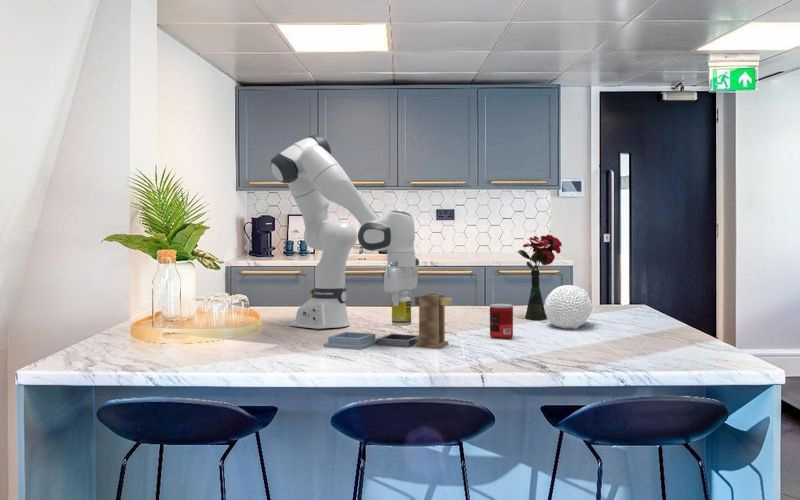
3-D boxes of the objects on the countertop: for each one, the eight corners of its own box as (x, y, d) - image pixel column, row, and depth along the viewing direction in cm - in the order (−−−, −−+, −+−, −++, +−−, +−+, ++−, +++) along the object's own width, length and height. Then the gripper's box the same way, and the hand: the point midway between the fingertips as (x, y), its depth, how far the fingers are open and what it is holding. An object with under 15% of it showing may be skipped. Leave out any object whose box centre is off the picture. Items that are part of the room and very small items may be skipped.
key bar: (414, 305, 190) (414, 296, 190) (419, 303, 194) (419, 295, 194) (448, 306, 186) (448, 298, 186) (452, 305, 189) (452, 296, 189)
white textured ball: (583, 334, 212) (583, 287, 212) (535, 330, 221) (535, 285, 221) (598, 327, 229) (598, 283, 228) (552, 323, 238) (552, 282, 238)
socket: (376, 345, 192) (376, 338, 192) (391, 339, 202) (391, 333, 202) (409, 347, 187) (409, 340, 187) (422, 341, 197) (422, 335, 197)
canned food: (515, 336, 208) (515, 304, 208) (509, 339, 201) (509, 306, 200) (493, 334, 211) (493, 303, 211) (487, 338, 204) (486, 305, 204)
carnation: (509, 320, 248) (509, 234, 248) (550, 318, 252) (550, 234, 252) (525, 325, 233) (525, 234, 232) (569, 324, 237) (569, 234, 237)
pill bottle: (409, 326, 191) (409, 291, 191) (390, 326, 192) (389, 291, 192) (412, 323, 197) (412, 289, 197) (394, 323, 198) (393, 289, 198)
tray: (323, 346, 189) (323, 337, 189) (343, 340, 201) (343, 331, 201) (361, 349, 184) (361, 339, 184) (379, 342, 196) (379, 333, 196)
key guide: (415, 346, 188) (415, 295, 188) (424, 342, 195) (424, 293, 195) (439, 348, 185) (439, 296, 185) (448, 344, 192) (448, 293, 192)
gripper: (397, 262, 184) (397, 308, 184) (421, 260, 203) (421, 301, 203) (378, 262, 186) (378, 307, 186) (403, 260, 205) (403, 301, 205)
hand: (401, 304), depth 195 cm, fingers closed on pill bottle, 6 cm apart
